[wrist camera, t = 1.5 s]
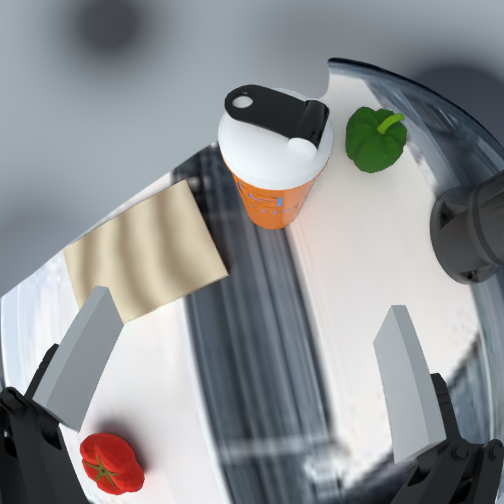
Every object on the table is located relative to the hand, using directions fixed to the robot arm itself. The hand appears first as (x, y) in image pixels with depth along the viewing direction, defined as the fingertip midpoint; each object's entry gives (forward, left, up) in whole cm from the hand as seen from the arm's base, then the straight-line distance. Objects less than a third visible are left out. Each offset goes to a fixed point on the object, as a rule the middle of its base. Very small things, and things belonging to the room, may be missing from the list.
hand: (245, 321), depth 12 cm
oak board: (+13, -12, -23) cm, 29 cm away
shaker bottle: (-7, -11, -23) cm, 27 cm away
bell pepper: (-23, -12, -23) cm, 35 cm away
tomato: (+31, +14, -23) cm, 41 cm away
